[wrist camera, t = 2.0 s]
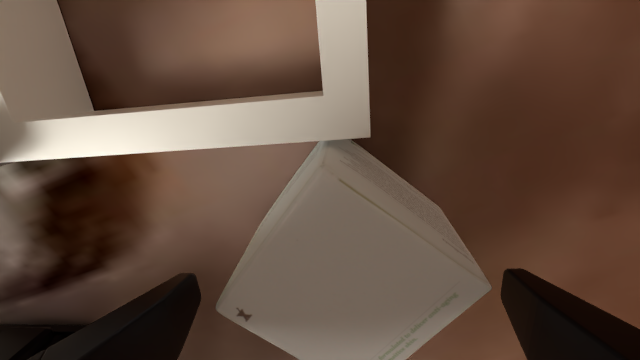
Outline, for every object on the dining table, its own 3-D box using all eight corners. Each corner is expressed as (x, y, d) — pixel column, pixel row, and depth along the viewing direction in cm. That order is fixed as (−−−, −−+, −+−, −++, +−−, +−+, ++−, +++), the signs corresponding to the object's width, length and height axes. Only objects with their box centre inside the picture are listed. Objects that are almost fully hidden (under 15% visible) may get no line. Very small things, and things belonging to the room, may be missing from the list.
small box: (358, 293, 14) (362, 404, 9) (255, 226, 13) (203, 310, 8) (445, 206, 12) (506, 291, 7) (330, 121, 11) (316, 157, 7)
